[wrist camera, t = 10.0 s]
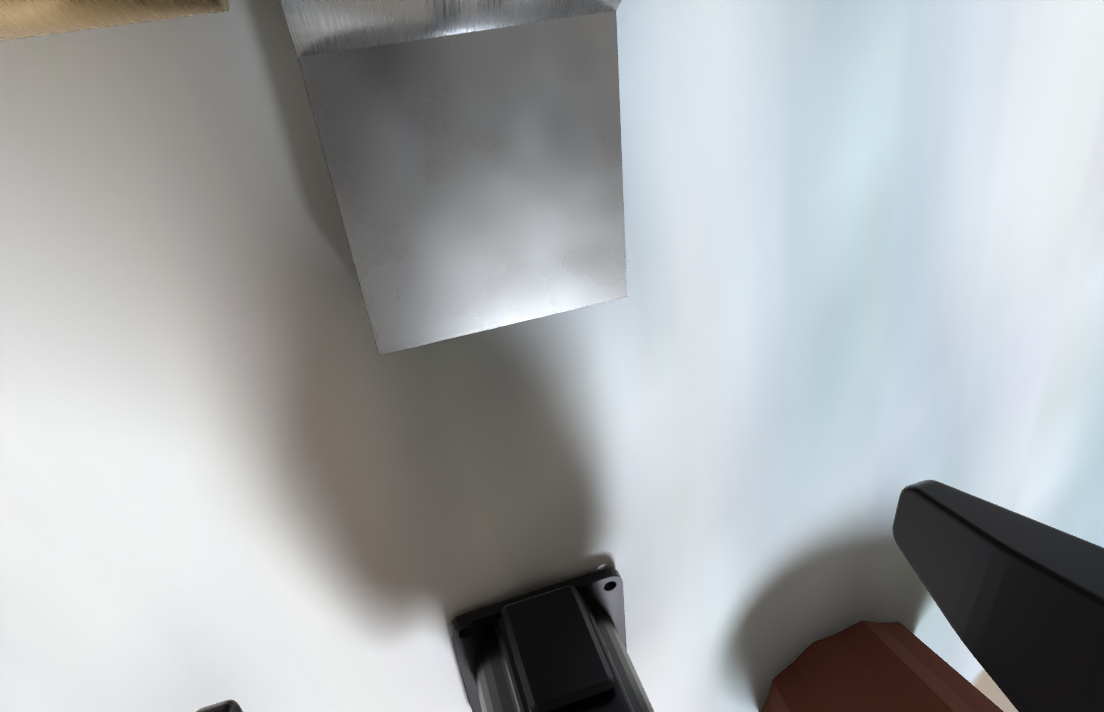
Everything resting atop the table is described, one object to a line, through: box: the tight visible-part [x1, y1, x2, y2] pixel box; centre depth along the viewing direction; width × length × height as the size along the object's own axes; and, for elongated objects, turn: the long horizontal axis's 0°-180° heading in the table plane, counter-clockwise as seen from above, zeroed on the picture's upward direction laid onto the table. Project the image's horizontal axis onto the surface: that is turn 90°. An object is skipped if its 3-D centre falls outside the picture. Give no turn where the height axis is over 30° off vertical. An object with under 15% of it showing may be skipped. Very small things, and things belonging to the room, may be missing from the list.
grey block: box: [280, 0, 627, 355], centre depth 14 cm, size 10×6×4 cm, turn 6°
